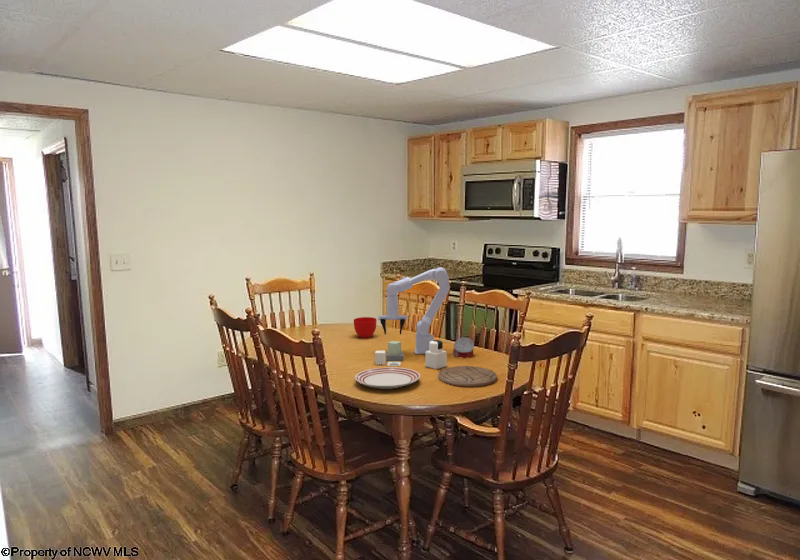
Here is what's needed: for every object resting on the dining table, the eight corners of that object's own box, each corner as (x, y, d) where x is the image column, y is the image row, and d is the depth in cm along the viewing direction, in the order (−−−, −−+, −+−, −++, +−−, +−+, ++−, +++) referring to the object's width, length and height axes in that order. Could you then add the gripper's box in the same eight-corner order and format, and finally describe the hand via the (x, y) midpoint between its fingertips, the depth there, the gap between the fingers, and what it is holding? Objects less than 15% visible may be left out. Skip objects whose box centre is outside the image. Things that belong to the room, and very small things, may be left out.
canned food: (473, 363, 275) (482, 347, 271) (460, 365, 268) (469, 349, 264) (458, 349, 281) (466, 334, 278) (445, 351, 274) (454, 335, 270)
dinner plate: (347, 377, 240) (346, 370, 240) (405, 370, 250) (405, 362, 250) (367, 397, 215) (366, 389, 214) (430, 388, 225) (430, 380, 225)
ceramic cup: (381, 333, 322) (380, 316, 321) (373, 339, 306) (372, 322, 304) (359, 332, 325) (359, 315, 324) (350, 338, 309) (350, 321, 307)
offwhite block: (385, 362, 263) (385, 350, 262) (385, 364, 258) (384, 353, 257) (376, 362, 263) (375, 350, 262) (375, 364, 258) (375, 353, 258)
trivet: (474, 367, 254) (474, 363, 254) (509, 382, 232) (509, 377, 232) (427, 375, 243) (427, 371, 242) (458, 391, 221) (458, 387, 220)
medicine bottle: (435, 363, 260) (435, 338, 258) (447, 366, 255) (447, 340, 253) (425, 366, 255) (424, 341, 253) (436, 369, 250) (436, 343, 248)
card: (400, 362, 262) (400, 361, 262) (400, 365, 256) (400, 365, 256) (388, 362, 262) (388, 361, 262) (387, 365, 256) (387, 365, 256)
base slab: (403, 357, 272) (403, 351, 272) (403, 361, 264) (403, 355, 264) (387, 357, 272) (387, 351, 272) (386, 361, 264) (386, 355, 264)
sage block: (401, 353, 268) (401, 341, 268) (395, 355, 265) (395, 343, 264) (393, 351, 271) (393, 340, 270) (388, 353, 267) (387, 342, 267)
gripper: (407, 305, 281) (407, 332, 283) (378, 305, 281) (379, 332, 283) (406, 308, 274) (407, 335, 276) (377, 308, 274) (378, 335, 276)
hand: (392, 333), depth 279 cm, fingers open, 7 cm apart
